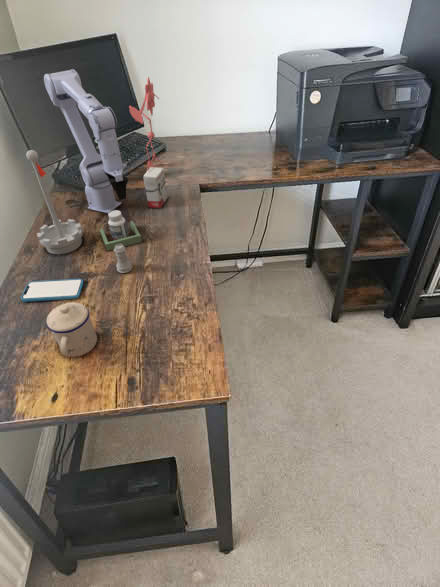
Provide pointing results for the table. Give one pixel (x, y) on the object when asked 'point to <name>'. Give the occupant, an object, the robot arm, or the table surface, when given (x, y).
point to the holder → (124, 241)
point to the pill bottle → (117, 225)
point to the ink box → (155, 187)
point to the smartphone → (52, 290)
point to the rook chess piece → (122, 259)
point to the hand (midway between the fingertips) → (119, 194)
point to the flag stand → (55, 220)
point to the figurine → (138, 117)
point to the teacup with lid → (72, 329)
